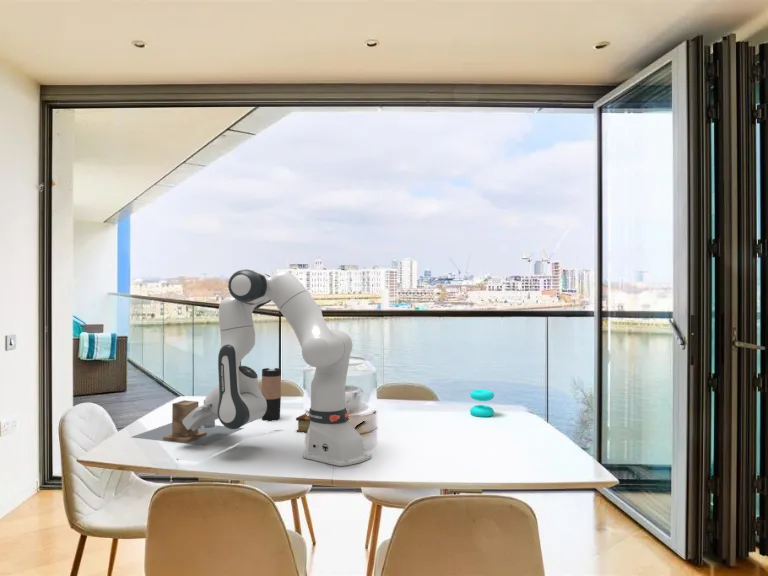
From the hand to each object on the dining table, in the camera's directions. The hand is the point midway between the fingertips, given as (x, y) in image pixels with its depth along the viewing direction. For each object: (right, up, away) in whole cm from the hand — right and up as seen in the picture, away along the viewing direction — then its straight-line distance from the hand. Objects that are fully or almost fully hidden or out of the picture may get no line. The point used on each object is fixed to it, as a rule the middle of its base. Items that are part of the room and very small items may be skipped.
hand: (194, 428), depth 189 cm
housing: (-3, -3, +1) cm, 5 cm away
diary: (+45, -6, +22) cm, 50 cm away
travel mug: (+19, -5, +33) cm, 39 cm away
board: (-4, -4, +8) cm, 10 cm away
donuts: (+106, -6, +45) cm, 115 cm away
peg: (0, -3, +16) cm, 16 cm away
